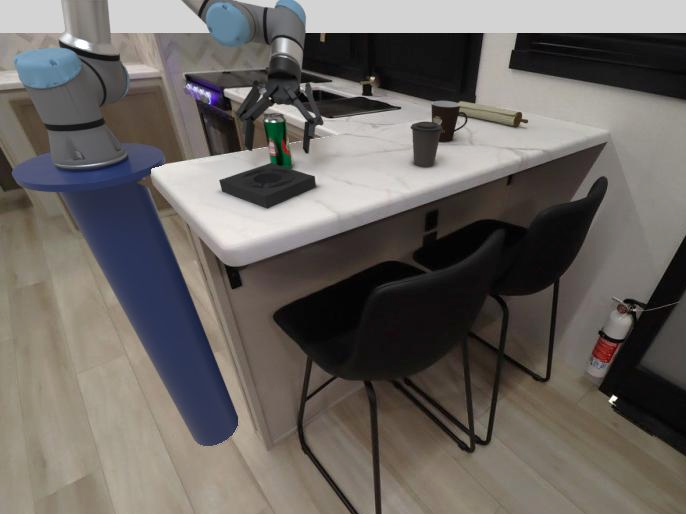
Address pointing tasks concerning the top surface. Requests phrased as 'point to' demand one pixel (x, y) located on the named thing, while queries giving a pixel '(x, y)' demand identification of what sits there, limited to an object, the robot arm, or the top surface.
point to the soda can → (277, 139)
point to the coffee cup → (425, 143)
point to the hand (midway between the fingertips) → (276, 149)
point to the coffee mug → (446, 118)
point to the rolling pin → (492, 113)
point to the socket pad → (268, 184)
